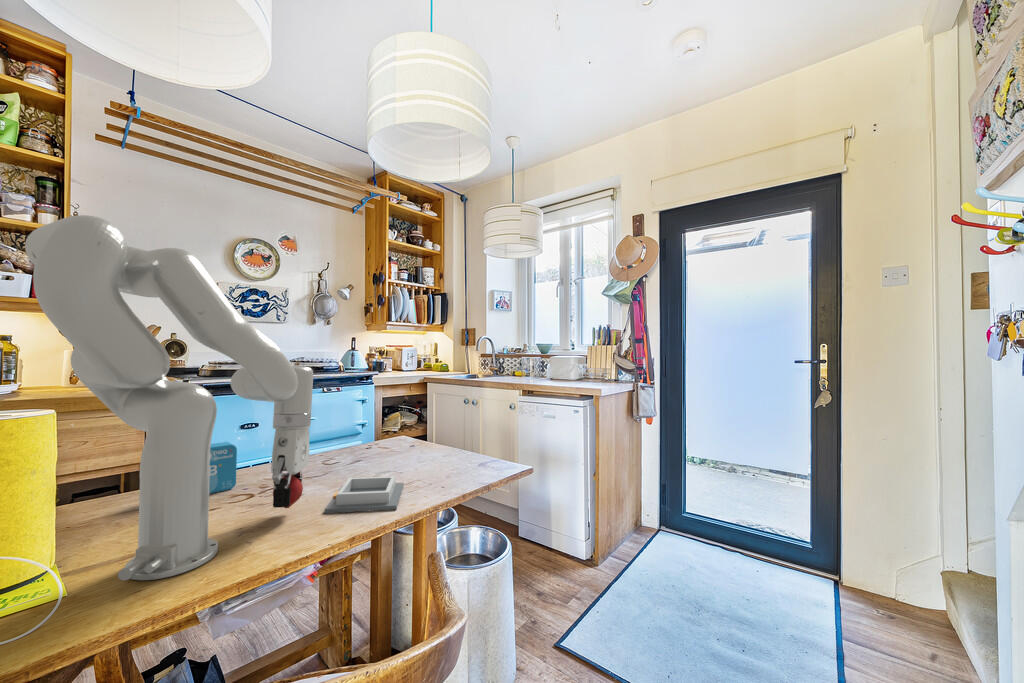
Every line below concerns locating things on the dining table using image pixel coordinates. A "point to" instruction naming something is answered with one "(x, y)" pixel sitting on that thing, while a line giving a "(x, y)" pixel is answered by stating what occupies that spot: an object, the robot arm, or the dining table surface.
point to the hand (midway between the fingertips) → (287, 500)
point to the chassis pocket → (366, 495)
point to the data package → (222, 467)
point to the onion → (294, 490)
